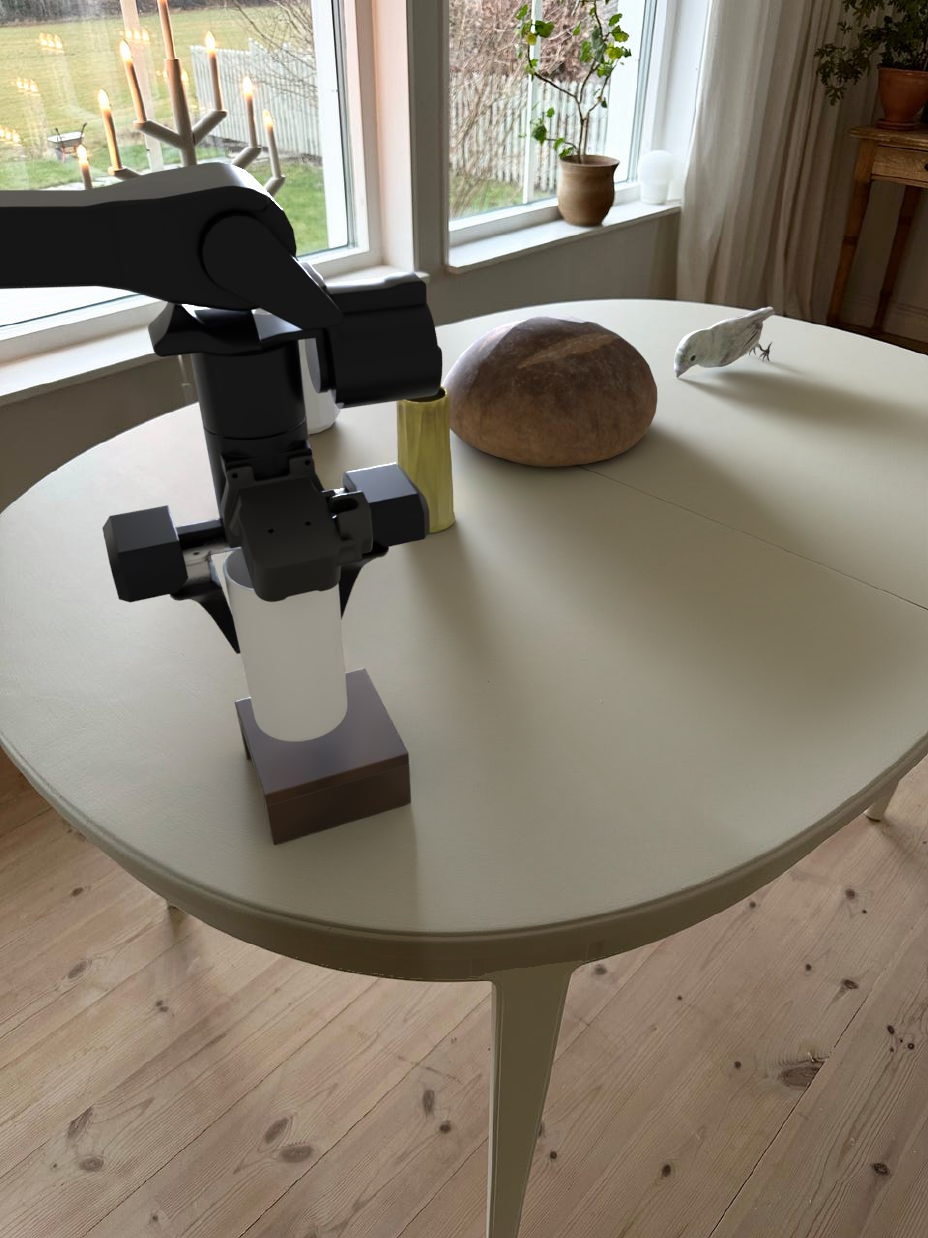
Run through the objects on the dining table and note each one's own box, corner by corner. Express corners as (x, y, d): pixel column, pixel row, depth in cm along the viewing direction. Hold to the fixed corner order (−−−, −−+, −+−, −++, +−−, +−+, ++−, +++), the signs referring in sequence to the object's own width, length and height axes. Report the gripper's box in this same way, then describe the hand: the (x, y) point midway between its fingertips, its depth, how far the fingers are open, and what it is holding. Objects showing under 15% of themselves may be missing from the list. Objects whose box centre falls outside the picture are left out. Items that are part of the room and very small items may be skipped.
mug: (371, 716, 62) (357, 565, 55) (283, 761, 58) (256, 606, 51) (295, 645, 68) (274, 502, 61) (211, 682, 65) (179, 535, 58)
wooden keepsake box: (274, 845, 63) (264, 795, 60) (244, 749, 70) (234, 700, 67) (411, 803, 66) (409, 753, 63) (369, 715, 73) (365, 667, 70)
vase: (418, 540, 95) (413, 410, 86) (386, 516, 99) (379, 389, 90) (466, 522, 98) (466, 394, 89) (433, 499, 102) (430, 375, 93)
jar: (250, 418, 119) (229, 275, 108) (317, 400, 123) (303, 260, 113) (286, 445, 112) (267, 296, 102) (355, 424, 117) (344, 279, 106)
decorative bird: (662, 371, 131) (669, 319, 127) (749, 352, 137) (758, 301, 133) (687, 384, 127) (695, 330, 123) (775, 364, 134) (785, 312, 129)
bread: (399, 418, 118) (394, 316, 111) (554, 370, 131) (560, 276, 124) (531, 497, 102) (537, 383, 94) (694, 433, 115) (711, 329, 107)
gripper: (92, 517, 43) (158, 758, 52) (464, 448, 48) (464, 676, 58) (74, 423, 51) (134, 645, 60) (394, 373, 57) (403, 583, 66)
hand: (286, 638), depth 61 cm, fingers closed on mug, 6 cm apart
